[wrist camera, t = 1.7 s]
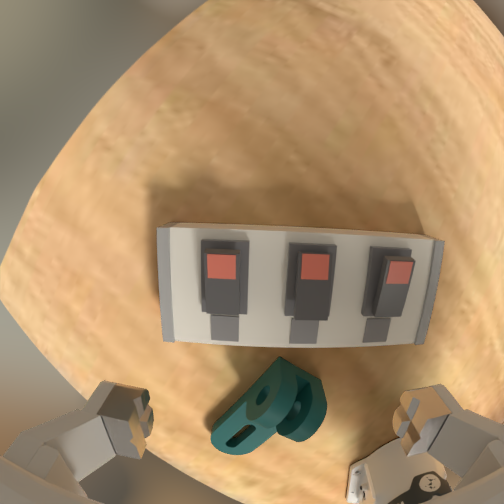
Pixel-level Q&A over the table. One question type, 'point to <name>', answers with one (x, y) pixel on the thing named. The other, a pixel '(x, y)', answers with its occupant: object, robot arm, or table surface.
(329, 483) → the table surface
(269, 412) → the bracket
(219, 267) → the rocker
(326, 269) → the rocker
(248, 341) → the power strip
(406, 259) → the rocker
